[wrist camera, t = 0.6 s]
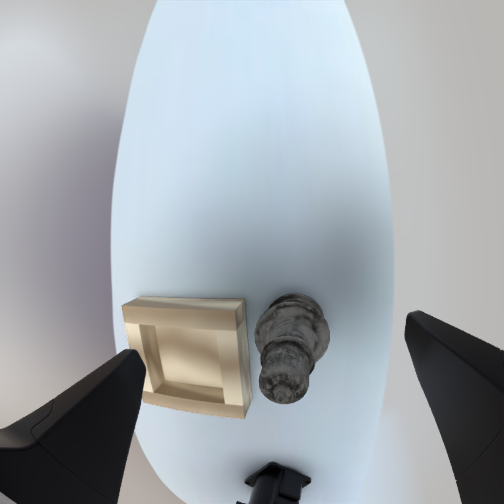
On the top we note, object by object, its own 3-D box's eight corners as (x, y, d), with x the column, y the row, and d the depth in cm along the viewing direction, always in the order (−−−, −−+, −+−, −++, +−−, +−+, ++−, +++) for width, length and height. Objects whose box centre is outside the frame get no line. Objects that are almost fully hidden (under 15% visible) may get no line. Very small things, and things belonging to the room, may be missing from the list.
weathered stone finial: (285, 277, 24) (263, 329, 12) (340, 313, 24) (362, 389, 12) (249, 328, 25) (204, 404, 14) (301, 361, 25) (291, 453, 13)
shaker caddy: (252, 398, 26) (244, 419, 23) (158, 386, 28) (143, 402, 25) (244, 298, 25) (234, 310, 22) (141, 296, 27) (121, 305, 24)
